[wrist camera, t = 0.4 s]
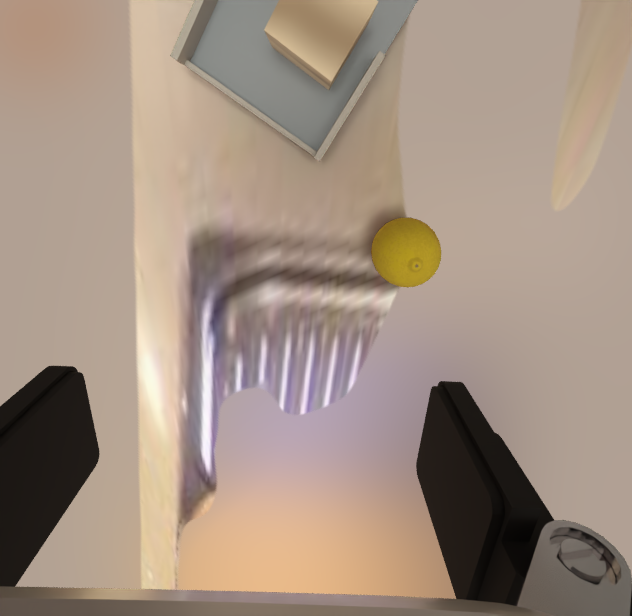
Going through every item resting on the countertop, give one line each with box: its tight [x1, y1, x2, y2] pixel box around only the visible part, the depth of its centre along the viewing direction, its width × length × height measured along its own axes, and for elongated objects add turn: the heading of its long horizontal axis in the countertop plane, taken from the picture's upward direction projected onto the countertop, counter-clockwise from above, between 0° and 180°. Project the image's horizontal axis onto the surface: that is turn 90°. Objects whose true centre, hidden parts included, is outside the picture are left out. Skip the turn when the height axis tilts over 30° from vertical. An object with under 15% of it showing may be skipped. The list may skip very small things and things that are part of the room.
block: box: [264, 0, 378, 90], centre depth 26 cm, size 5×5×5 cm
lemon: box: [371, 218, 441, 287], centre depth 33 cm, size 6×6×8 cm
